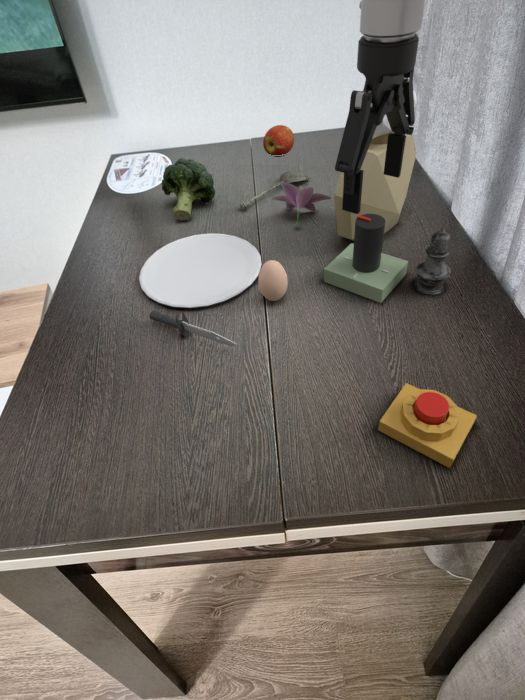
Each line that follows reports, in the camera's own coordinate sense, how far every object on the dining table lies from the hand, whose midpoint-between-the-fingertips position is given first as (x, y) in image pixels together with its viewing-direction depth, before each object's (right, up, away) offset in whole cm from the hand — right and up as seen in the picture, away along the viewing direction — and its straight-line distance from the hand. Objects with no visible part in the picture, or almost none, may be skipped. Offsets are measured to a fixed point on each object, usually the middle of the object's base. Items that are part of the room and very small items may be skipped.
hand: (372, 192), depth 71 cm
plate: (-30, -10, +19) cm, 37 cm away
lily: (-9, +4, +29) cm, 31 cm away
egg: (-16, -16, +11) cm, 25 cm away
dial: (+1, -10, +10) cm, 14 cm away
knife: (-29, -24, +5) cm, 38 cm away
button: (+4, -34, -14) cm, 37 cm away
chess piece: (+13, -14, +9) cm, 21 cm away
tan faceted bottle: (+6, 0, +24) cm, 24 cm away
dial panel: (+2, -12, +12) cm, 17 cm away
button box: (+4, -36, -11) cm, 38 cm away
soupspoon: (-15, +14, +39) cm, 44 cm away
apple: (-13, +30, +54) cm, 64 cm away
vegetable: (-35, +9, +37) cm, 52 cm away
